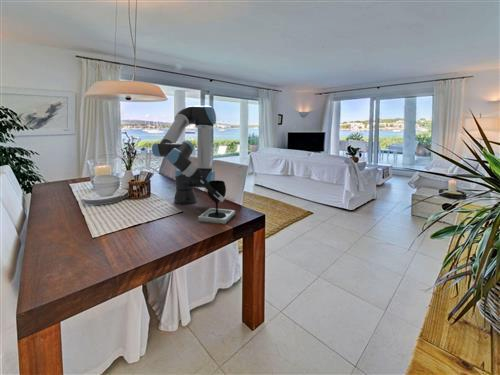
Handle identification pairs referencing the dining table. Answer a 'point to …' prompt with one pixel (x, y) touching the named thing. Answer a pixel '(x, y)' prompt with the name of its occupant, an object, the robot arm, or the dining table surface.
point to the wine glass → (221, 189)
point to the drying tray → (224, 220)
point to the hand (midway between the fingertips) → (220, 197)
